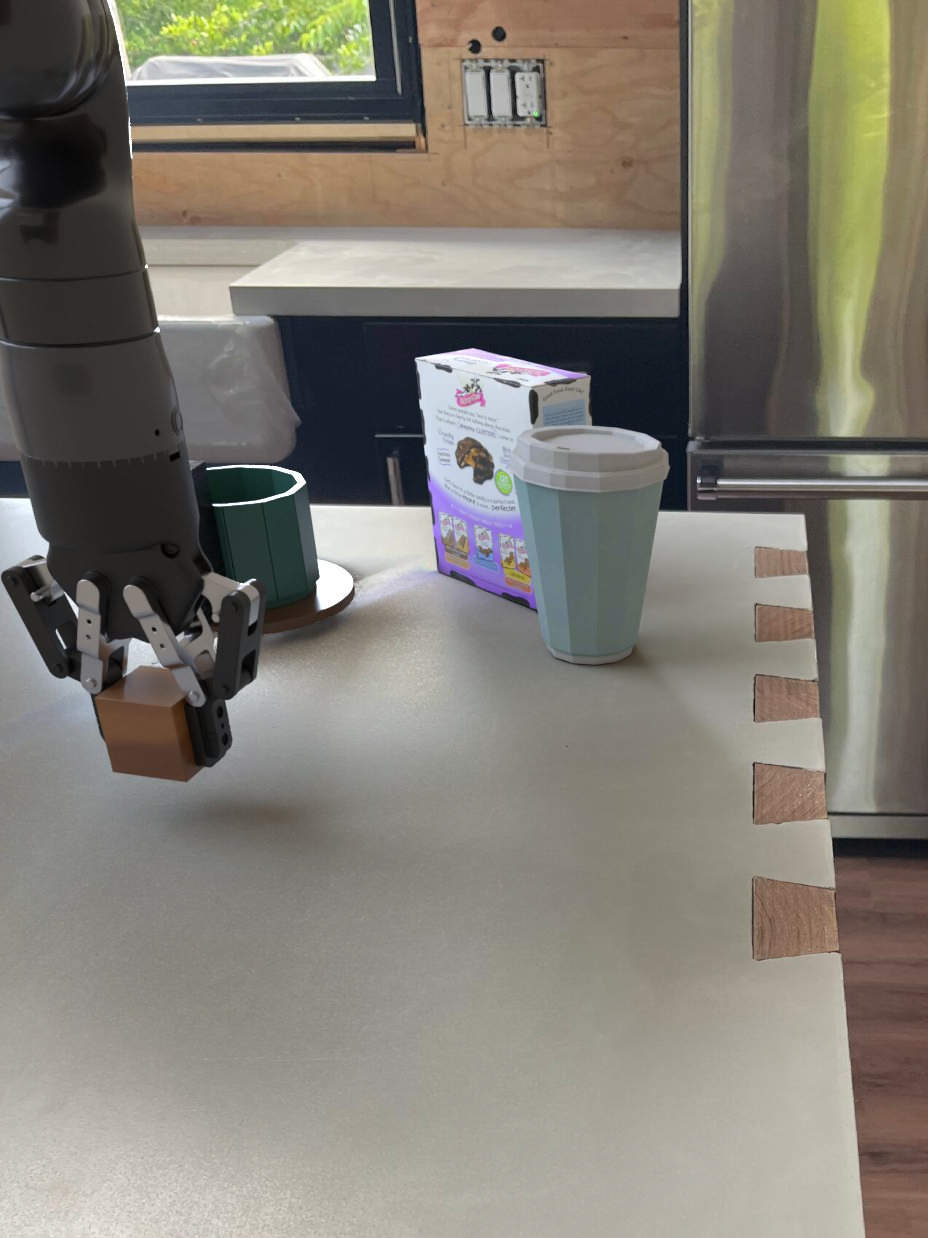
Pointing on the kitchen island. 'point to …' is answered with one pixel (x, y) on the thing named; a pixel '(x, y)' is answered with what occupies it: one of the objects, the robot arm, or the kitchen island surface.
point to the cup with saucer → (267, 543)
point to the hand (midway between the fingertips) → (170, 753)
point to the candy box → (487, 457)
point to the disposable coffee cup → (589, 533)
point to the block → (147, 726)
